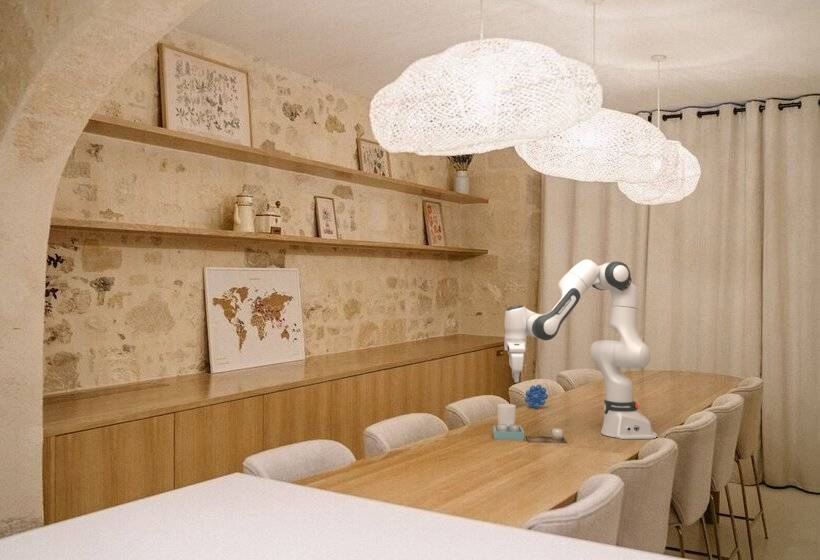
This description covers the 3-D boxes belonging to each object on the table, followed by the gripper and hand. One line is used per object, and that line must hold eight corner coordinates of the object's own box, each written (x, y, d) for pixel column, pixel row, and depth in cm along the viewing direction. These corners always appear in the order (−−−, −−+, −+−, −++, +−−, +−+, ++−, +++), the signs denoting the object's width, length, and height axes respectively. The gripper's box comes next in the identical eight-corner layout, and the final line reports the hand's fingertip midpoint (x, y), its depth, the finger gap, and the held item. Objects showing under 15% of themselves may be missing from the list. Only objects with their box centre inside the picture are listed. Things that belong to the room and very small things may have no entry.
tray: (563, 439, 297) (563, 436, 297) (566, 444, 288) (566, 441, 288) (525, 438, 298) (526, 435, 298) (528, 443, 289) (528, 440, 289)
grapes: (550, 408, 368) (550, 384, 368) (546, 410, 362) (546, 385, 362) (527, 406, 373) (527, 382, 373) (523, 408, 367) (523, 383, 367)
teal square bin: (521, 434, 305) (521, 426, 305) (524, 441, 293) (524, 432, 293) (492, 434, 305) (493, 425, 305) (494, 440, 294) (494, 431, 294)
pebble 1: (507, 435, 301) (507, 424, 301) (506, 437, 297) (506, 426, 297) (497, 434, 302) (497, 423, 302) (496, 436, 298) (496, 425, 298)
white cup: (514, 431, 312) (515, 407, 312) (496, 430, 314) (496, 406, 314) (516, 427, 320) (516, 404, 320) (497, 426, 321) (498, 403, 321)
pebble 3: (561, 439, 295) (561, 428, 295) (562, 441, 291) (563, 430, 291) (551, 439, 295) (551, 428, 295) (552, 441, 291) (552, 430, 291)
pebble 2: (518, 435, 301) (518, 424, 301) (519, 437, 297) (519, 426, 297) (508, 435, 301) (509, 424, 301) (509, 437, 297) (509, 426, 297)
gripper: (505, 342, 309) (505, 375, 310) (509, 348, 289) (509, 384, 289) (520, 342, 309) (520, 375, 309) (525, 348, 289) (525, 384, 289)
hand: (515, 379), depth 299 cm, fingers open, 8 cm apart
